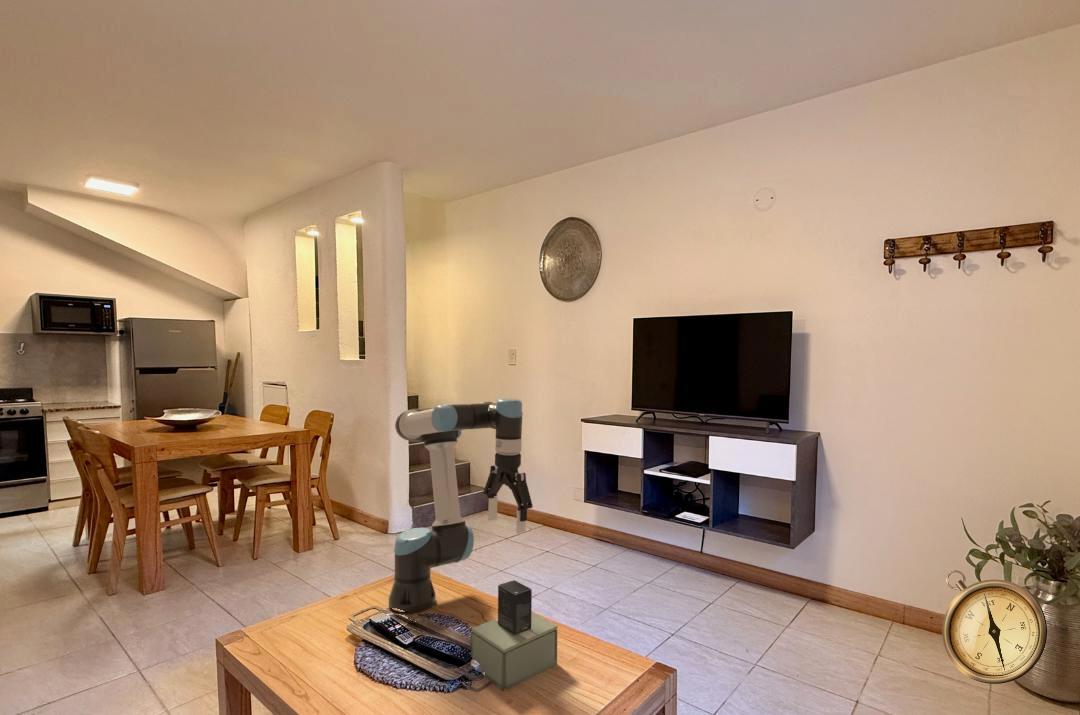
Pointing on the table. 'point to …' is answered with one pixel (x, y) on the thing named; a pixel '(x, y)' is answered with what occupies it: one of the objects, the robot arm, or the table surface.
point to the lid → (510, 641)
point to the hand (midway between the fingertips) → (506, 525)
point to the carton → (514, 659)
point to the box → (514, 607)
